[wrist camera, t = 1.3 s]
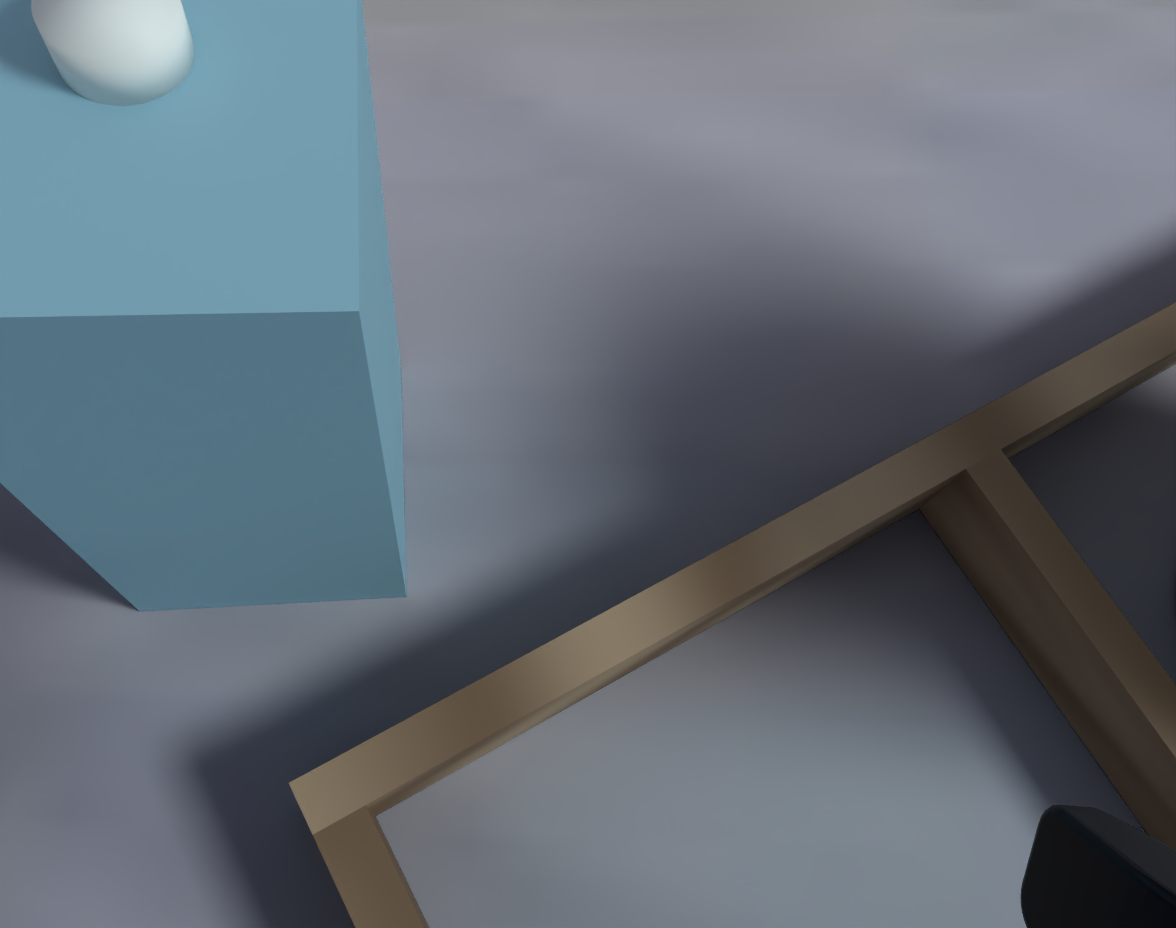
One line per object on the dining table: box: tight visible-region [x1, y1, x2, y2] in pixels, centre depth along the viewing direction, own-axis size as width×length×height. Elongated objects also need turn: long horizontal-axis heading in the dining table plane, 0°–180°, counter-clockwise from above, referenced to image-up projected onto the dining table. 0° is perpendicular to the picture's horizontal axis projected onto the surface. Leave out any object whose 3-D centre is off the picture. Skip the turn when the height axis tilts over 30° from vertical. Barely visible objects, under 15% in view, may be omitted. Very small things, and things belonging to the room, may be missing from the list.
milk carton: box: [0, 0, 407, 611], centre depth 18 cm, size 6×6×13 cm
